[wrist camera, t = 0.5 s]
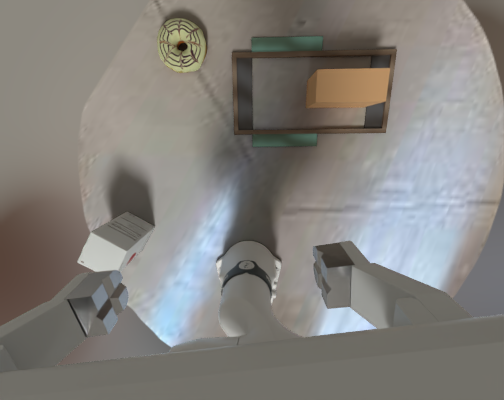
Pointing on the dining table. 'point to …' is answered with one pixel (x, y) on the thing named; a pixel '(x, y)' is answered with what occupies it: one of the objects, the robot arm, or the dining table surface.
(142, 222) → the supplement box
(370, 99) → the orange block
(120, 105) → the dining table surface
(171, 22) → the decorated donut
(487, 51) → the dining table surface
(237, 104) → the trap lane
